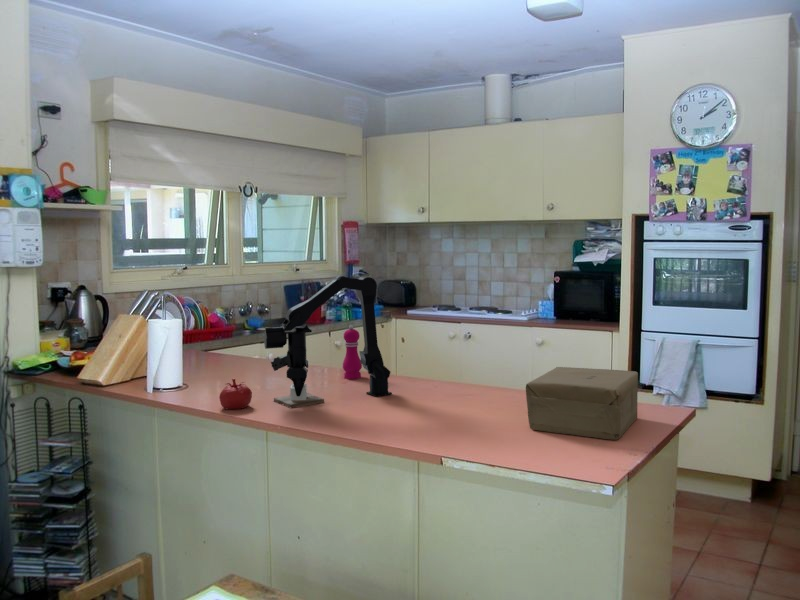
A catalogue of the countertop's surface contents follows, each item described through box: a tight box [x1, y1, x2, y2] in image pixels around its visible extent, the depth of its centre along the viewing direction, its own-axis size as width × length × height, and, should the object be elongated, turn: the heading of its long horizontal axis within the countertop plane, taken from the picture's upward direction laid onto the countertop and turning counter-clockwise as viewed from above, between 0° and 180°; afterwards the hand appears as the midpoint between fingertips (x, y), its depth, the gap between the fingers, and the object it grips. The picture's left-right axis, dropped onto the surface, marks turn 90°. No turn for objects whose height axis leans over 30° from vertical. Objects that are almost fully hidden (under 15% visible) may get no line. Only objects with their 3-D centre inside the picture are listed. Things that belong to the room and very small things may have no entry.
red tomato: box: [218, 378, 253, 410], centre depth 224 cm, size 10×10×9 cm
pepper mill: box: [342, 324, 363, 380], centre depth 267 cm, size 7×7×20 cm
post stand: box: [273, 392, 325, 408], centre depth 230 cm, size 12×12×4 cm
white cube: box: [289, 383, 308, 401], centre depth 230 cm, size 5×5×4 cm
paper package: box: [525, 366, 639, 441], centre depth 196 cm, size 27×26×14 cm
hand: (298, 394), depth 230 cm, fingers closed on white cube, 5 cm apart
